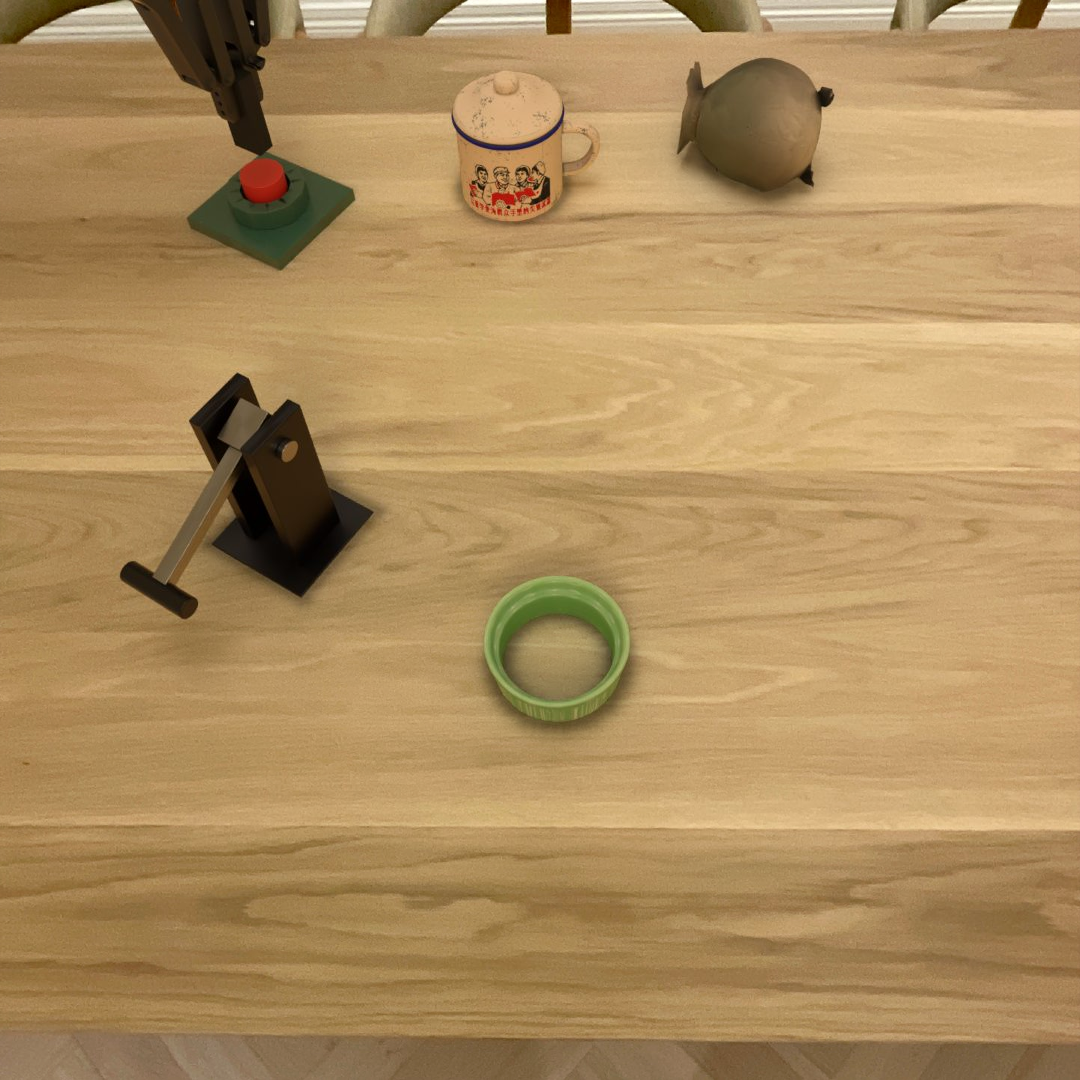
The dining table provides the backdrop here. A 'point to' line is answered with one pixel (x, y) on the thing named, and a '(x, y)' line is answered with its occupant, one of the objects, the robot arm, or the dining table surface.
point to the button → (263, 181)
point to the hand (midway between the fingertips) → (253, 145)
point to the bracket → (278, 494)
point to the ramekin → (556, 599)
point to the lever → (198, 518)
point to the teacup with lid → (515, 145)
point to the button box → (273, 215)
